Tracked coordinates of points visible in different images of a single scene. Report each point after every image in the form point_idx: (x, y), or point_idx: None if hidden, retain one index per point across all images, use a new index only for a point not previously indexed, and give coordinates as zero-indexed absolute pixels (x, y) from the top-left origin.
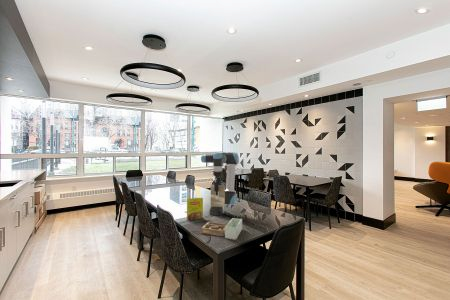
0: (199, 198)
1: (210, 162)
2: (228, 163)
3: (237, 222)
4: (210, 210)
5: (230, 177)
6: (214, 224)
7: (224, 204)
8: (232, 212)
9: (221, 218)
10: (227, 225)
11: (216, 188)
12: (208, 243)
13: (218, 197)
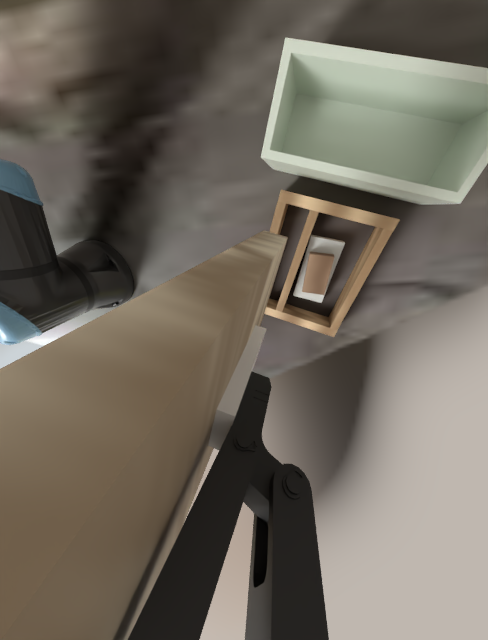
0: None
1: None
2: None
3: (284, 111)
4: (110, 304)
5: None
6: None
7: (267, 235)
8: (60, 192)
9: (153, 246)
10: (423, 185)
11: (315, 598)
12: (469, 290)
13: (261, 341)
